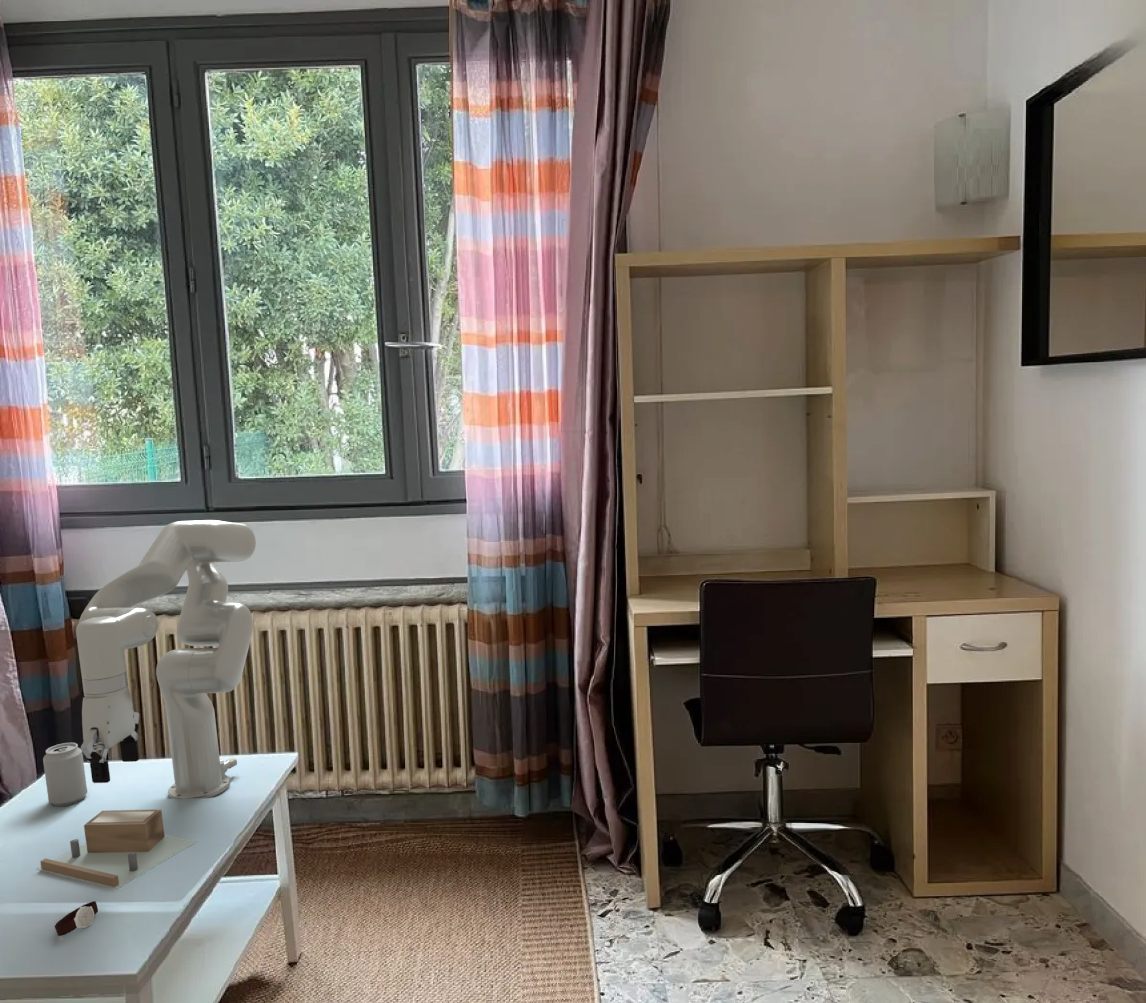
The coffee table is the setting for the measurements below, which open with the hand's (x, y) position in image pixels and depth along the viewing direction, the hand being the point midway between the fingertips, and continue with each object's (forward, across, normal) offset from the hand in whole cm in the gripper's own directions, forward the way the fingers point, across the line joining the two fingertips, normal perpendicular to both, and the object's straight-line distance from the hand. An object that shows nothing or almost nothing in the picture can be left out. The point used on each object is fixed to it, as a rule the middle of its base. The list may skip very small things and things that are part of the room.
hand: (116, 771), depth 180 cm
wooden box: (+15, 0, 0) cm, 15 cm away
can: (+16, -23, -27) cm, 39 cm away
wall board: (+16, +4, +1) cm, 16 cm away
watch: (+16, +25, +6) cm, 30 cm away
